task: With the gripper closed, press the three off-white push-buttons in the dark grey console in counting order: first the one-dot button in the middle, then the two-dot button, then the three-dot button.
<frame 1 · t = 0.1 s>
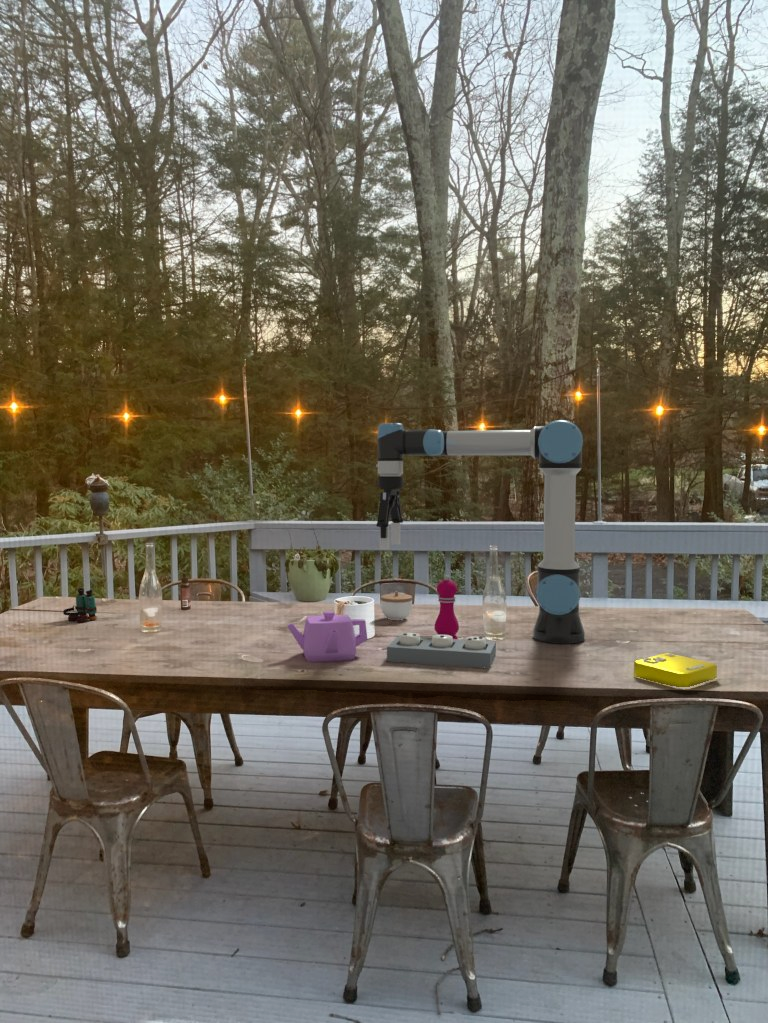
hand: (390, 546, 228), 28 cm above the table, tool pointing down, fingers open, 13 cm apart
element tile: (674, 680, 189), on the table
console: (442, 658, 207), on the table
pepper mill: (446, 642, 226), on the table
button three dots: (475, 644, 204), point 4 cm above the table, slide at 0.0 cm
lidded jar: (396, 619, 258), on the table
binoculars: (80, 621, 256), on the table
button two dots: (409, 640, 209), point 4 cm above the table, slide at 0.0 cm
button one dot: (442, 642, 207), point 4 cm above the table, slide at 0.0 cm
teakettle: (327, 657, 210), on the table
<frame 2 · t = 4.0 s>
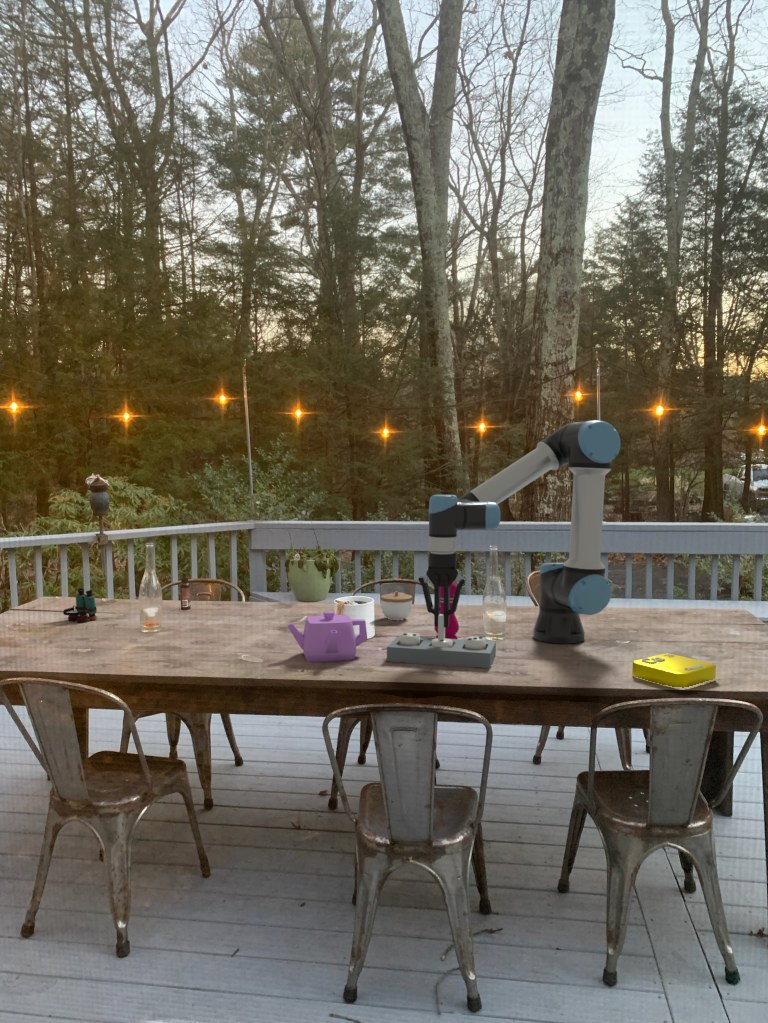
hand: (441, 638, 207), 6 cm above the table, tool pointing down, fingers closed
button one dot: (442, 646, 207), point 3 cm above the table, slide at 1.0 cm, touching gripper
everything else where it was.
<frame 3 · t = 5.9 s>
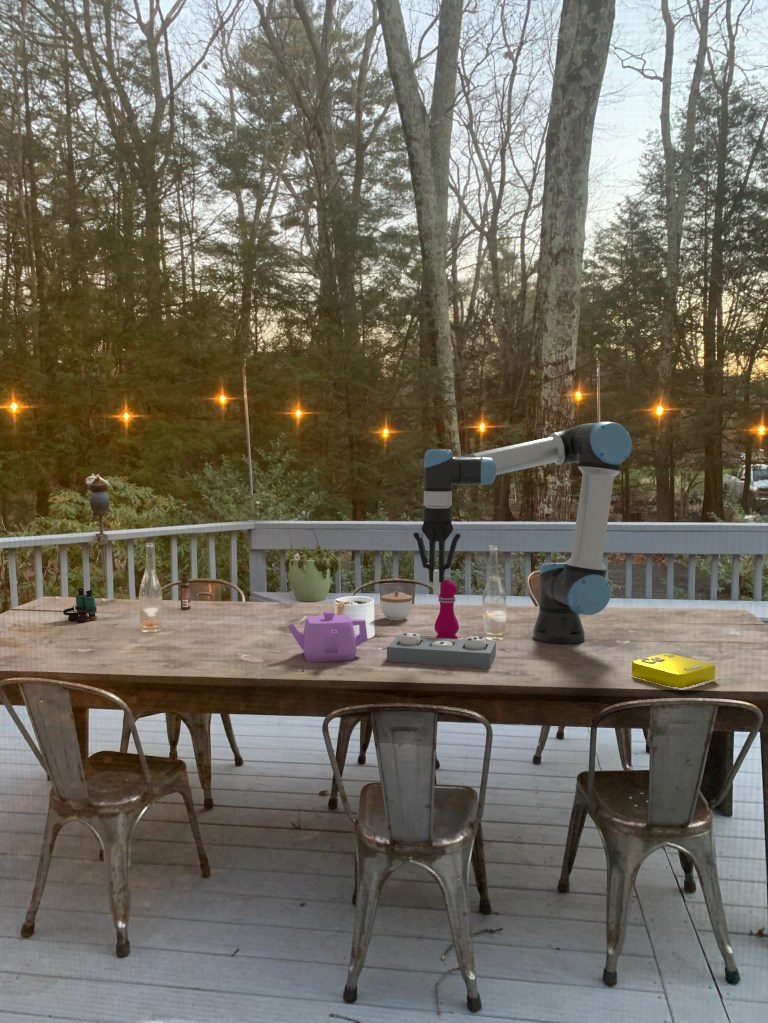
hand: (436, 594, 206), 18 cm above the table, tool pointing down, fingers closed
button one dot: (442, 649, 207), point 3 cm above the table, slide at 1.8 cm
everything else where it was.
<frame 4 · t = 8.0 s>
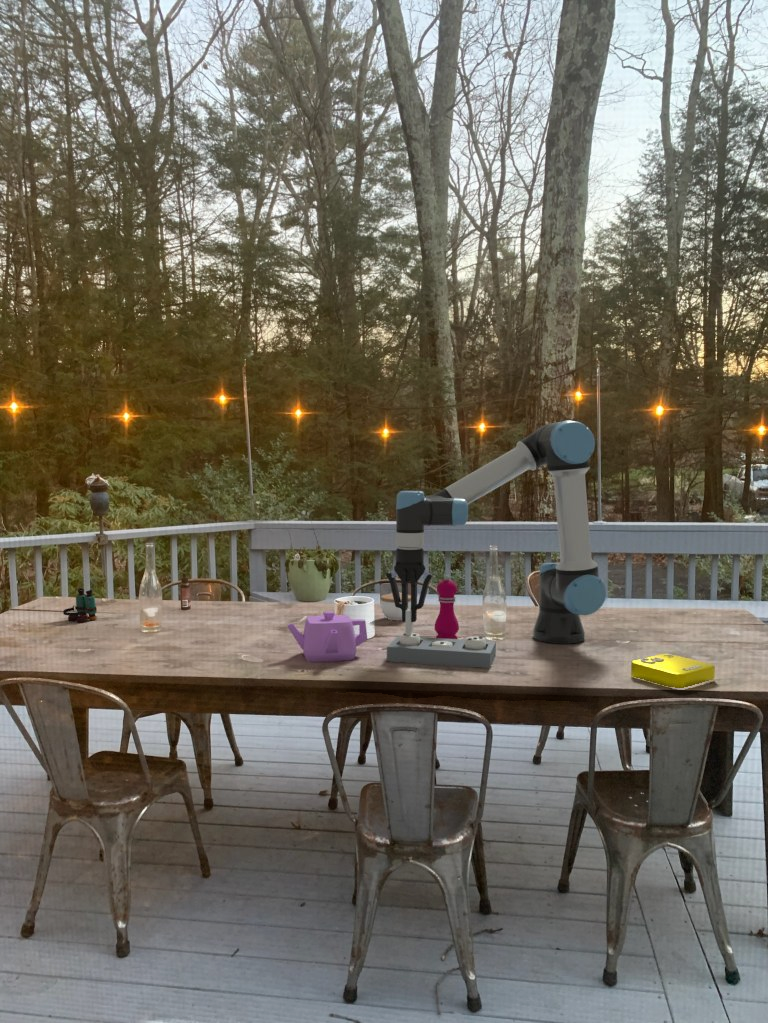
hand: (409, 633, 209), 6 cm above the table, tool pointing down, fingers closed
button two dots: (409, 640, 209), point 4 cm above the table, slide at 0.1 cm, touching gripper
everything else where it was.
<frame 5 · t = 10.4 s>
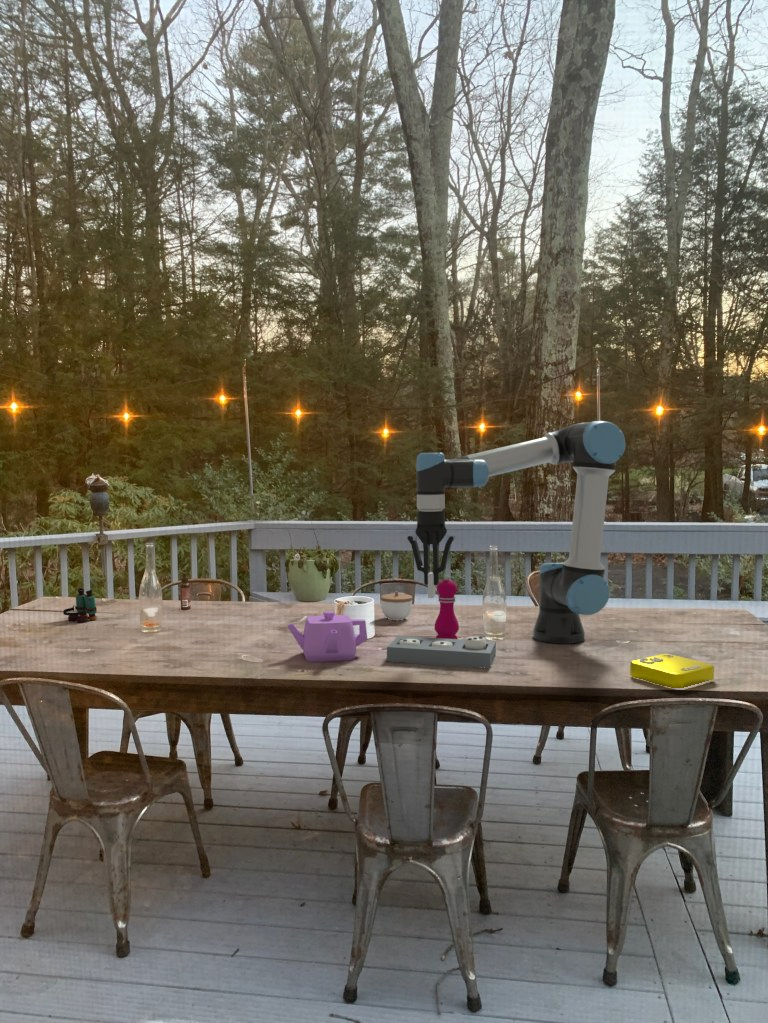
hand: (431, 596, 207), 17 cm above the table, tool pointing down, fingers closed
button two dots: (409, 646, 209), point 3 cm above the table, slide at 1.7 cm
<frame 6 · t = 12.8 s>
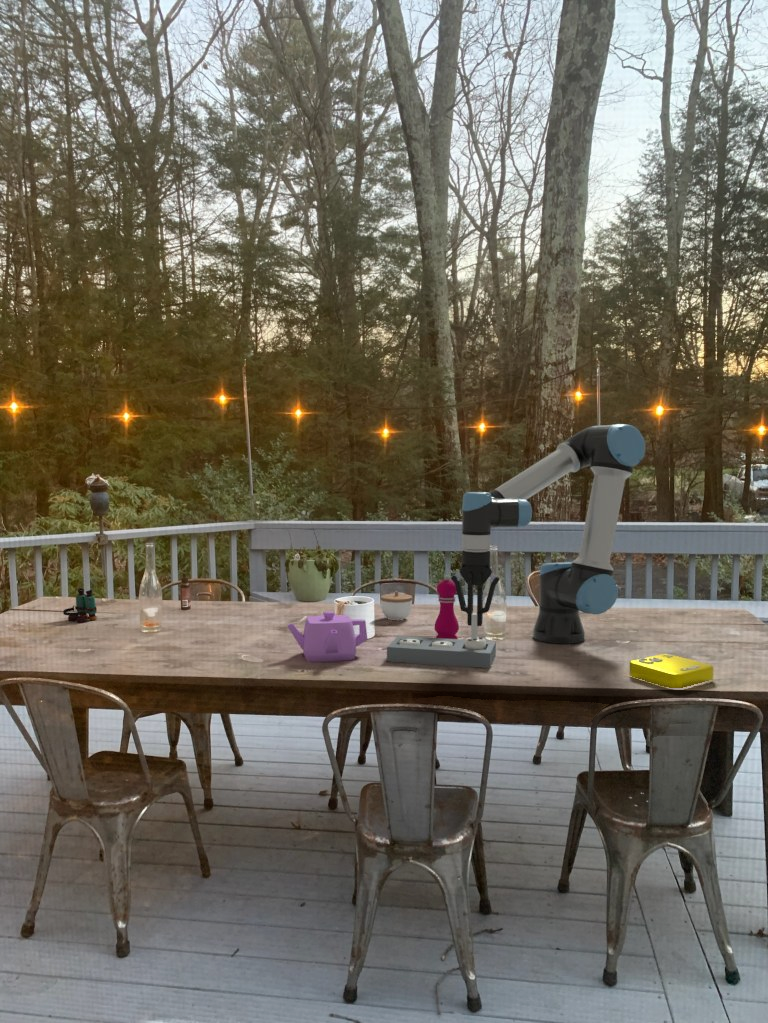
hand: (474, 637, 204), 6 cm above the table, tool pointing down, fingers closed
button three dots: (475, 645, 204), point 4 cm above the table, slide at 0.2 cm, touching gripper
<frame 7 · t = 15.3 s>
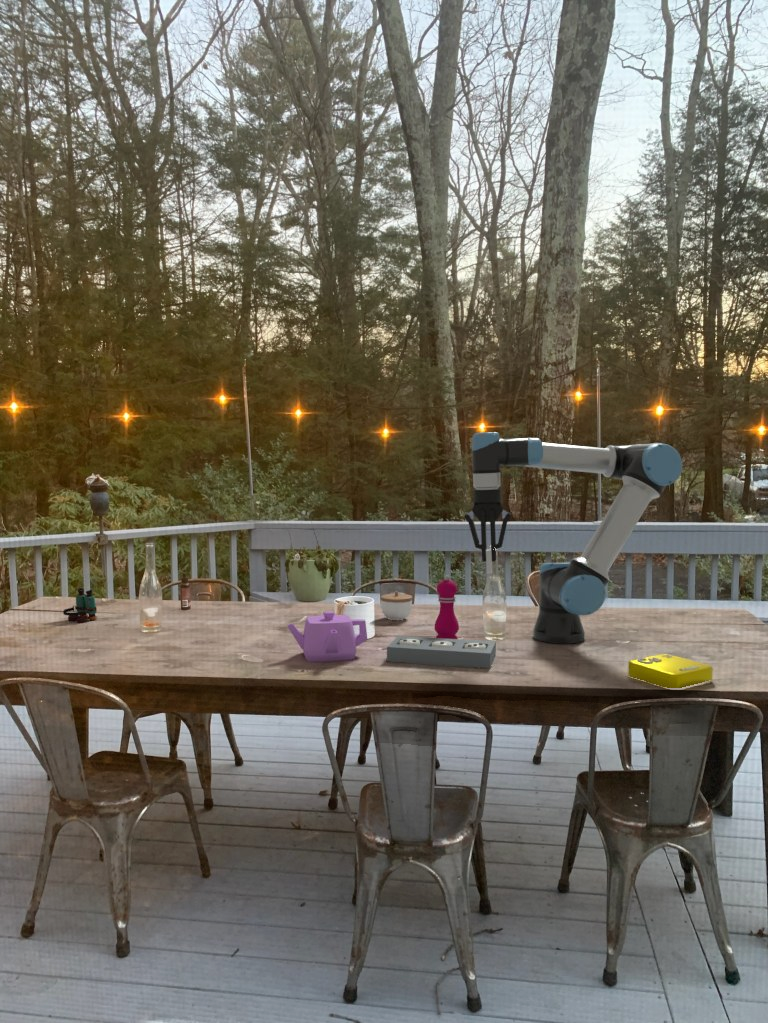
hand: (489, 573, 212), 22 cm above the table, tool pointing down, fingers closed
button three dots: (475, 651, 205), point 3 cm above the table, slide at 1.8 cm
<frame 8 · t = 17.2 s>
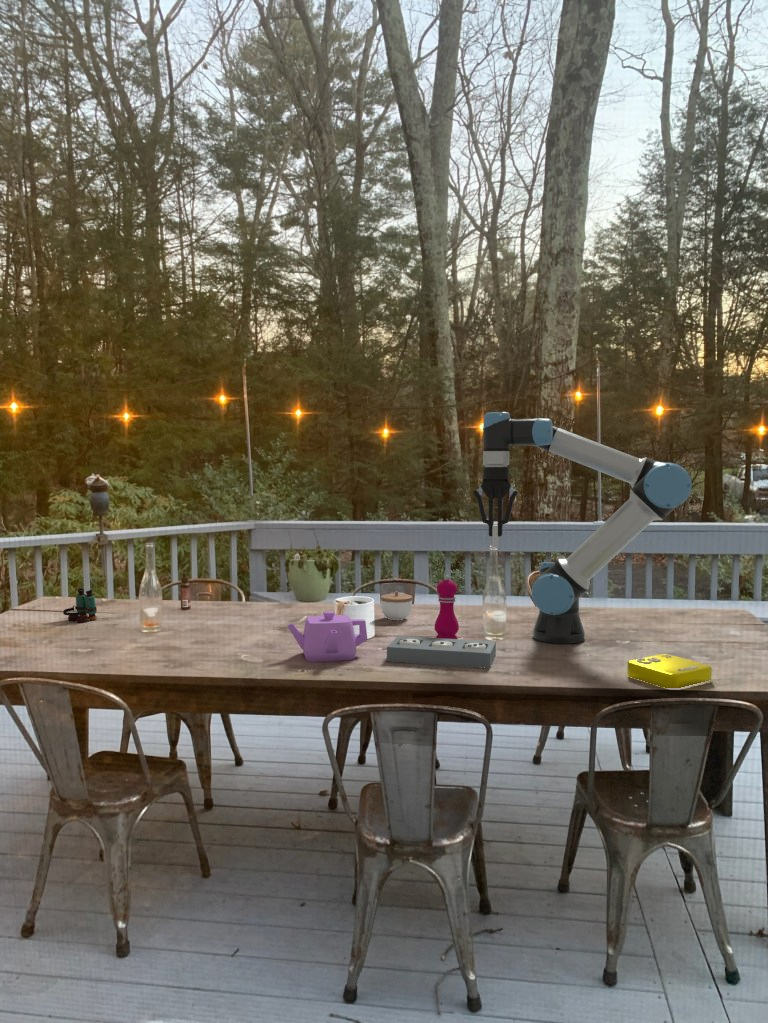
hand: (495, 547, 221), 28 cm above the table, tool pointing down, fingers closed
at the end: button one dot slide at 1.8 cm; button two dots slide at 1.7 cm; button three dots slide at 1.8 cm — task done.
